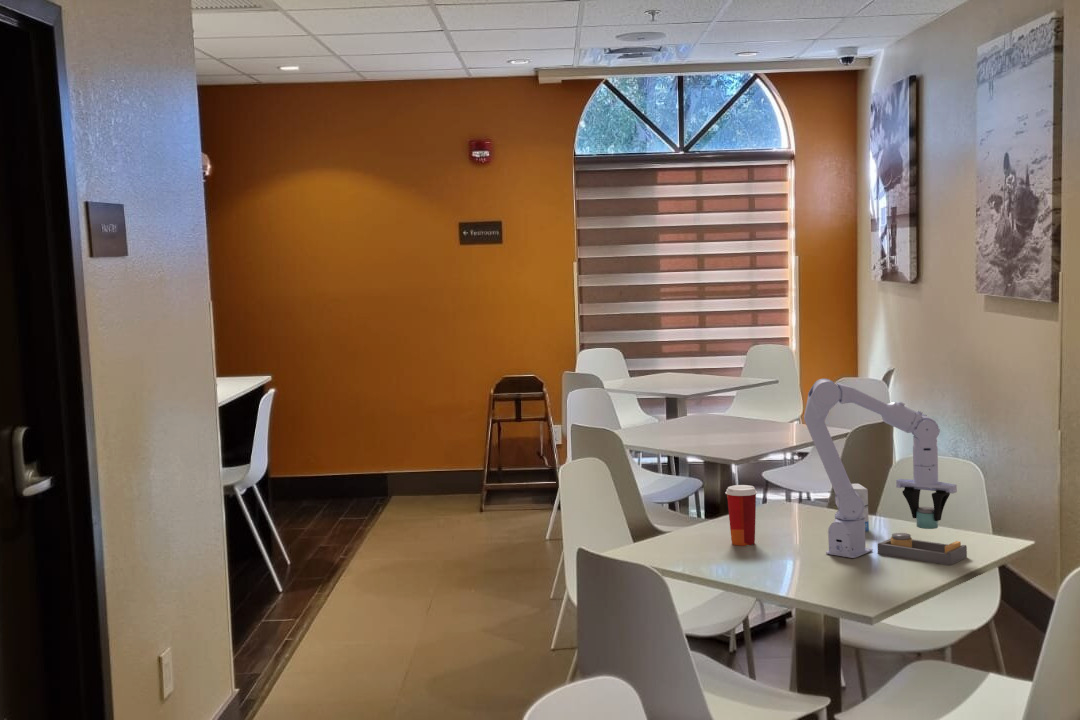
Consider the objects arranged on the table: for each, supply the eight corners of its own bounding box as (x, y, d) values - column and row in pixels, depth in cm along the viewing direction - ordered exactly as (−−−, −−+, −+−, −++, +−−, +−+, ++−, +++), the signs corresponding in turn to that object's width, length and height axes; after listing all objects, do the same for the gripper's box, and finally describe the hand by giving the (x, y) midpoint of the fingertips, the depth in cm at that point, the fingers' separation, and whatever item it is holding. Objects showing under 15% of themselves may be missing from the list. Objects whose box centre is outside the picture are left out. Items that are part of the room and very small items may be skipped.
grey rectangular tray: (950, 565, 238) (950, 552, 238) (877, 553, 252) (877, 541, 252) (967, 557, 245) (966, 545, 244) (895, 546, 258) (895, 534, 258)
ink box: (869, 531, 275) (868, 488, 275) (851, 531, 275) (850, 489, 275) (860, 524, 284) (859, 482, 283) (842, 525, 284) (841, 483, 283)
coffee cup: (757, 539, 272) (755, 484, 271) (760, 546, 264) (758, 490, 263) (725, 539, 273) (723, 485, 272) (728, 547, 265) (726, 490, 264)
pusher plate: (949, 563, 240) (948, 547, 240) (945, 562, 241) (944, 546, 241) (961, 557, 244) (960, 541, 244) (956, 557, 245) (956, 541, 245)
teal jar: (933, 529, 247) (933, 511, 247) (913, 527, 251) (913, 509, 250) (941, 525, 251) (940, 508, 251) (921, 523, 254) (920, 505, 254)
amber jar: (906, 556, 249) (906, 538, 248) (887, 553, 252) (886, 535, 252) (916, 552, 252) (915, 534, 252) (897, 549, 256) (896, 531, 255)
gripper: (961, 464, 247) (962, 519, 248) (904, 459, 258) (906, 512, 259) (949, 469, 242) (950, 524, 243) (891, 464, 253) (893, 517, 254)
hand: (926, 519), depth 251 cm, fingers closed on teal jar, 5 cm apart
